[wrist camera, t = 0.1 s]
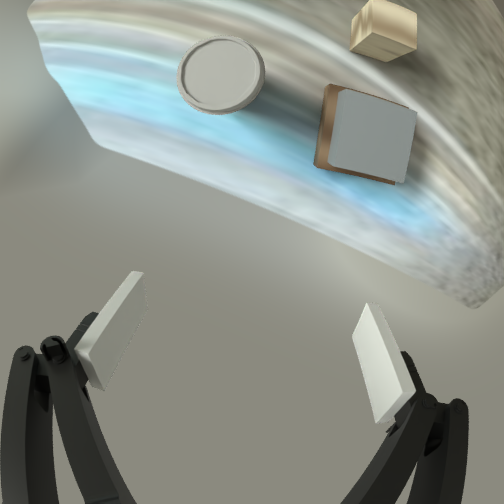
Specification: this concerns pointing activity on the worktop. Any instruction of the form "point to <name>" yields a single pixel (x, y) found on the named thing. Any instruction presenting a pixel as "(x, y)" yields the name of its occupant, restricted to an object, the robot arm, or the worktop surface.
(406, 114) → the top slab
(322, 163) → the base slab
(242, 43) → the disposable coffee cup
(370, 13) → the birch block
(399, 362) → the robot arm
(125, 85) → the worktop surface
